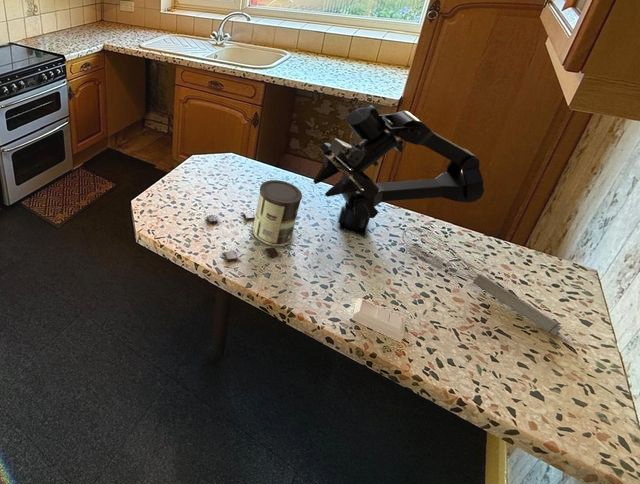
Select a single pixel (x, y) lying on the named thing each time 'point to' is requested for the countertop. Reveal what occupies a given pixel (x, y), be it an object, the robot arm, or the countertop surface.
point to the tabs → (231, 255)
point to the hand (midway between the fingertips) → (319, 189)
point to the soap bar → (379, 319)
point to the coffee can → (276, 212)
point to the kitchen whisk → (500, 293)
